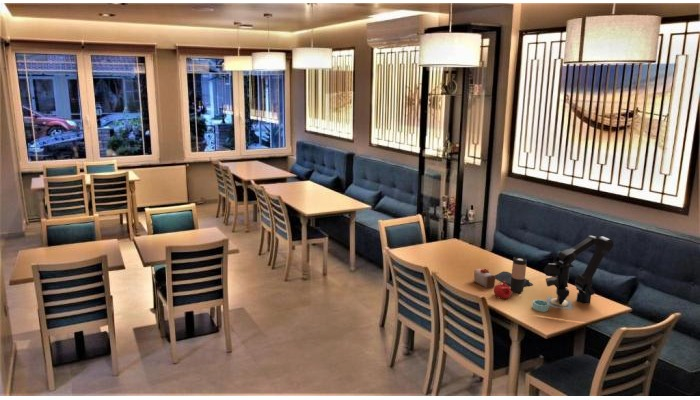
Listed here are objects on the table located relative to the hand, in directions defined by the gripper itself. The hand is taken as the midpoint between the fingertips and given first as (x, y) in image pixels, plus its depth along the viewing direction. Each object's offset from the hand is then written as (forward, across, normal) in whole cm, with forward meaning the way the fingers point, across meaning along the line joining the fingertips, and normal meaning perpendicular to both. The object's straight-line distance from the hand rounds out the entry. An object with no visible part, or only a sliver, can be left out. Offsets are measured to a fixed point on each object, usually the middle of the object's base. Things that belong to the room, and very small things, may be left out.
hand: (559, 300), depth 285 cm
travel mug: (+2, -12, -22) cm, 26 cm away
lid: (+1, 0, 0) cm, 1 cm away
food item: (+2, -15, -42) cm, 44 cm away
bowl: (+2, +11, -10) cm, 15 cm away
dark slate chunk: (+3, -27, -25) cm, 37 cm away
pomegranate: (+2, 0, -30) cm, 31 cm away
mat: (+2, 0, 0) cm, 2 cm away
